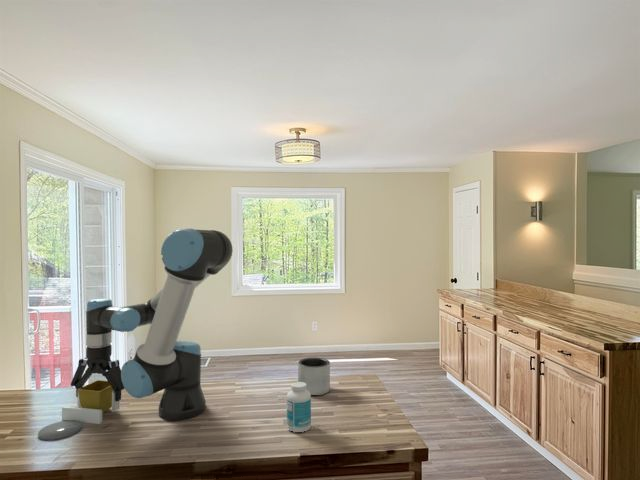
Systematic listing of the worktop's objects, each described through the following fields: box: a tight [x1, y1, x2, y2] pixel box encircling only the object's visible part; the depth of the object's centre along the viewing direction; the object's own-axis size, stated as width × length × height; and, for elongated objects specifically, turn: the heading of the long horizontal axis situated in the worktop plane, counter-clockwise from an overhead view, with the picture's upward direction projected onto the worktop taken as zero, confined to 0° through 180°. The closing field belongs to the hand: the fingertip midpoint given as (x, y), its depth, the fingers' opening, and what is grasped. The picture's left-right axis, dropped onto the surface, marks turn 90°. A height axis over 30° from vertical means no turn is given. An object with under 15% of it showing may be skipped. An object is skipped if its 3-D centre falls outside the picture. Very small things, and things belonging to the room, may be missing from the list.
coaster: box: [37, 420, 83, 441], centre depth 118 cm, size 11×11×1 cm
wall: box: [61, 405, 103, 425], centre depth 124 cm, size 14×1×4 cm, turn 79°
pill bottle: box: [286, 381, 312, 433], centre depth 121 cm, size 8×7×14 cm
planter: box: [297, 357, 331, 396], centre depth 151 cm, size 13×13×11 cm
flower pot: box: [78, 379, 114, 414], centre depth 131 cm, size 9×9×9 cm
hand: (98, 408), depth 131 cm, fingers open, 12 cm apart
